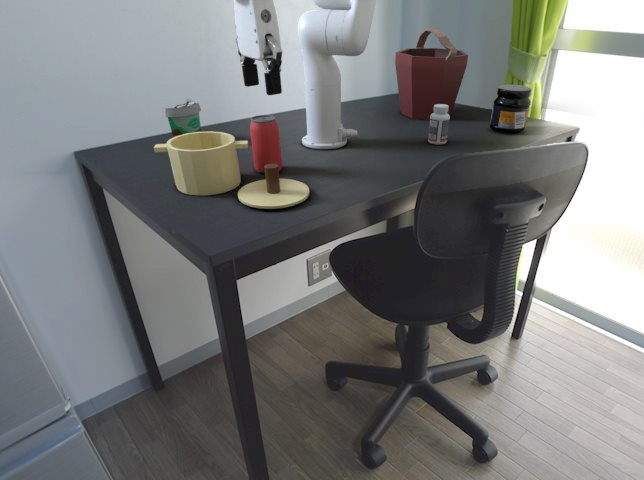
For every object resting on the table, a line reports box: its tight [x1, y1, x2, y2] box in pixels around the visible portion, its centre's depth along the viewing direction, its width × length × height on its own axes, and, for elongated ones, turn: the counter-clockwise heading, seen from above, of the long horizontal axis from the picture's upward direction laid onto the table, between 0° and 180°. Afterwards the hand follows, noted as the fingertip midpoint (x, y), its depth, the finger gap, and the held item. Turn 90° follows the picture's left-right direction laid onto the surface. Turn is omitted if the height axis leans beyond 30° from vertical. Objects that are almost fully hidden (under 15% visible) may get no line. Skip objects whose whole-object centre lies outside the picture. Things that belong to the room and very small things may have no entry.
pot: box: [153, 130, 249, 197], centre depth 98 cm, size 14×19×10 cm
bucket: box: [394, 28, 469, 121], centre depth 146 cm, size 24×22×25 cm
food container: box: [164, 98, 202, 138], centre depth 123 cm, size 12×6×10 cm, turn 168°
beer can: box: [249, 114, 283, 175], centre depth 105 cm, size 7×7×12 cm
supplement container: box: [489, 84, 532, 135], centre depth 134 cm, size 10×10×12 cm
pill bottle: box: [427, 104, 451, 145], centre depth 124 cm, size 5×5×10 cm
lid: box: [237, 164, 310, 210], centre depth 93 cm, size 15×15×7 cm
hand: (262, 89), depth 92 cm, fingers open, 9 cm apart
